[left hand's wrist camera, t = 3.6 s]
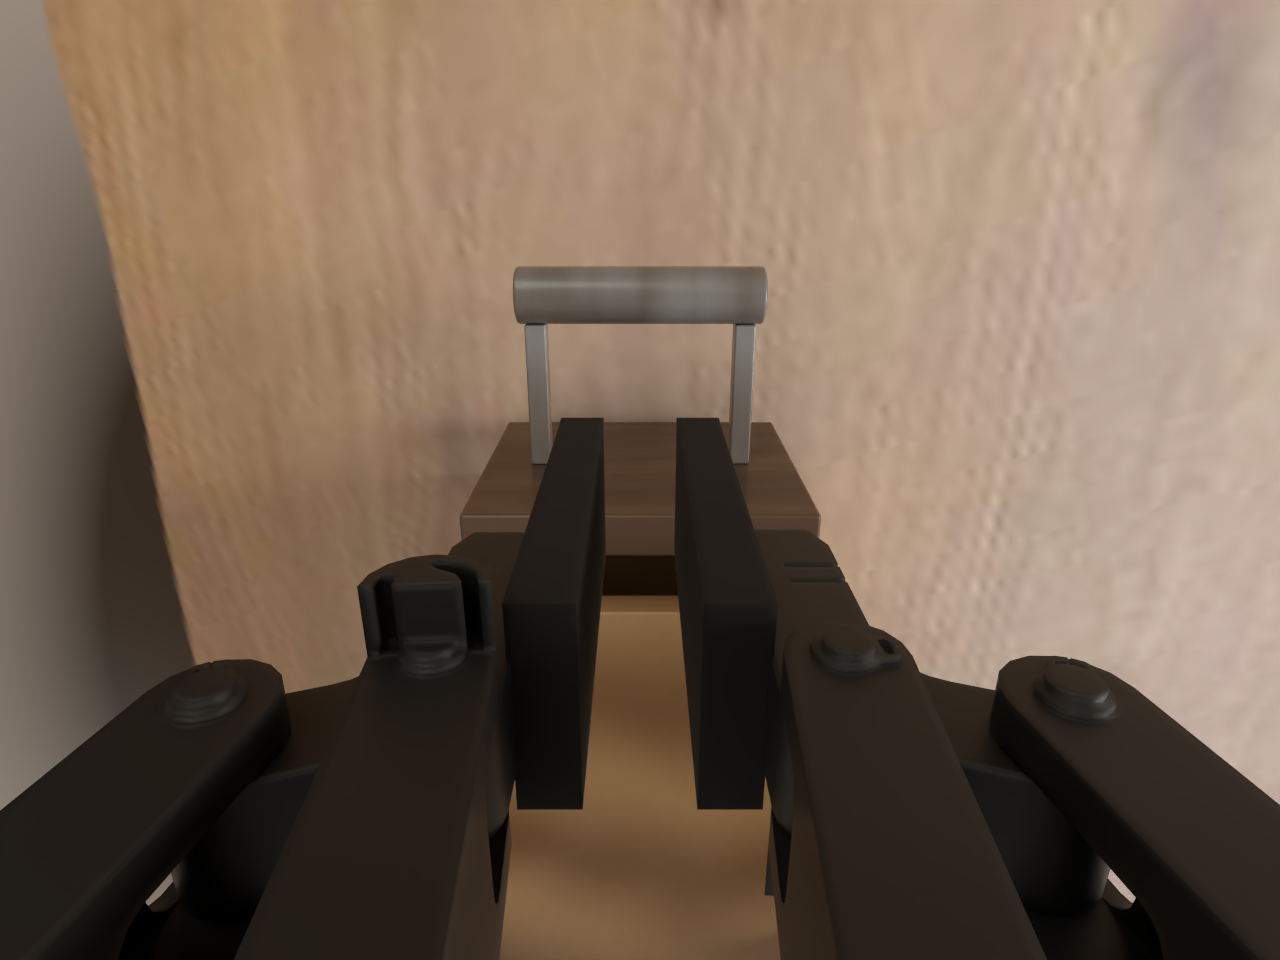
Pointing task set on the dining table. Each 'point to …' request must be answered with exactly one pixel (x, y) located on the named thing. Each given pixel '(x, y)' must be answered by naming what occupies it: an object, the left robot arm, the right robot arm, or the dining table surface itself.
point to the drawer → (639, 449)
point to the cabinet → (639, 826)
